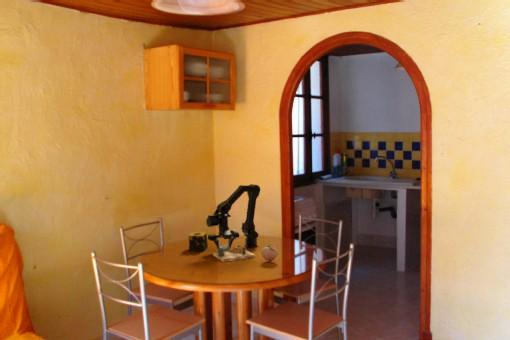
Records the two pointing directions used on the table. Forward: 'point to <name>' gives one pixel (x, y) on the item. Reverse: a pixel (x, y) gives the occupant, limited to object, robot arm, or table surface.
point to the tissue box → (198, 241)
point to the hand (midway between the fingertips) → (224, 249)
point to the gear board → (232, 255)
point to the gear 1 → (225, 247)
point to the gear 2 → (238, 249)
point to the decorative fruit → (269, 253)
